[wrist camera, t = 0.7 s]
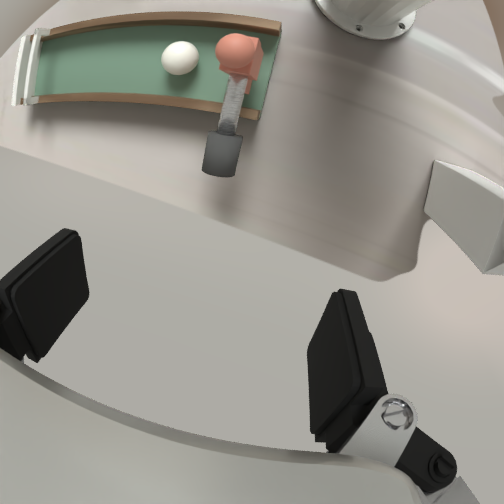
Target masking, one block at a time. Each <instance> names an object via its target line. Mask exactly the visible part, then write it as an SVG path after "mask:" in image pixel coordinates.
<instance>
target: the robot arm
mask: <svg viewBox="0 0 504 504" xmlns="http://www.w3.org/2000/svg"><path fill="white" fill-rule="evenodd" d="M431 1H433V0H315V2H316V4H317V6H318V7H319V9H320V10H321V11H322V13H323V14H324V15H325V16H326V17H327V18H328V19H329V20H330V21H332V22H333V23H334V24H336V25H337V26H339V27H340V28H342V29H344V30H346V31H347V32H349V33H352V34H354V35H357V36H360V37H364V38H367V39H375V40H385V39H391V38H395V37H397V36H399V35H402V34H403V33H405V32H406V31H408V30H409V28H410V27H411V26H412V25H413V23H414V21H415V18H416V10H417V9H419V8H421V7H422V6H424V5H426V4H428V3H430V2H431ZM399 26H400V27H401V28H400V27H399ZM356 28H358V29H359V31H357V30H356ZM88 298H89V288H88V282H87V277H86V271H85V264H84V258H83V250H82V242H81V238H80V236H79V235H78V232H76V231H74V230H70V229H66V228H64V229H62V230H60V231H59V232H58V233H56V234H55V235H54V236H52V237H51V238H50V239H48V240H47V241H46V242H45V243H43V244H42V245H41V246H39V247H38V248H37V249H36V250H34V251H33V252H32V253H31V254H30V255H28V256H27V257H26V258H25V259H24V260H22V261H21V262H20V263H19V264H18V265H17V266H15V267H14V268H13V269H12V270H11V271H10V272H9V273H7V274H6V275H5V276H4V277H3V278H2V279H1V280H0V504H480V503H479V502H478V500H477V499H476V498H475V496H474V495H473V493H472V492H471V490H470V489H469V488H468V486H467V485H466V483H465V482H464V481H463V479H462V478H461V476H459V477H458V478H456V473H457V465H456V460H455V459H454V457H453V455H452V454H451V453H450V452H449V451H447V450H446V449H445V448H443V447H442V446H441V445H440V444H438V443H437V442H435V441H434V440H433V439H432V438H430V437H429V436H428V435H426V434H425V433H424V432H422V431H421V430H420V429H419V428H417V427H416V425H417V421H418V417H417V412H416V409H415V407H414V406H413V404H412V403H411V402H410V401H409V400H408V399H407V398H405V397H403V396H401V395H398V394H388V391H387V387H386V383H385V379H384V375H383V372H382V368H381V364H380V361H379V357H378V354H377V350H376V347H375V343H374V340H373V337H372V335H371V333H370V332H369V330H368V327H367V324H366V320H365V317H364V314H363V311H362V308H361V305H360V302H359V299H358V296H357V293H356V292H355V291H350V290H345V289H339V290H338V292H333V293H332V295H331V297H330V299H329V302H328V304H327V306H326V309H325V311H324V313H323V316H322V317H321V320H320V322H319V324H318V326H317V329H316V331H315V333H314V335H313V337H312V339H311V341H310V343H309V346H308V350H307V361H308V381H309V403H310V404H309V406H310V432H311V433H312V434H315V442H326V449H327V450H328V451H327V452H326V453H321V452H310V451H298V450H286V449H277V448H269V447H261V446H255V445H248V444H242V443H235V442H230V441H225V440H219V439H214V438H210V437H205V436H201V435H197V434H192V433H189V432H184V431H181V430H177V429H174V428H170V427H166V426H163V425H160V424H157V423H154V422H151V421H147V420H144V419H141V418H138V417H135V416H133V415H130V414H127V413H124V412H122V411H119V410H117V409H114V408H112V407H109V406H107V405H104V404H102V403H99V402H97V401H95V400H93V399H90V398H88V397H86V396H84V395H82V394H79V393H77V392H75V391H73V390H71V389H69V388H67V387H65V386H63V385H61V384H59V383H57V382H55V381H54V380H52V379H50V378H48V377H46V376H44V375H42V374H41V373H39V372H37V371H36V370H34V369H32V368H30V367H29V366H27V365H26V364H24V355H25V354H26V355H27V357H28V358H29V359H31V360H33V361H34V362H36V363H38V362H39V360H40V359H41V357H44V356H45V355H46V354H47V353H48V351H49V350H50V348H51V347H52V346H53V344H54V343H55V342H56V340H57V339H58V338H59V336H60V335H61V333H62V332H63V331H64V329H65V328H66V327H67V325H68V324H69V323H70V322H71V320H72V319H73V318H74V316H75V315H76V314H77V313H78V311H79V310H80V309H81V307H82V306H83V305H84V304H85V302H86V301H87V300H88Z"/></svg>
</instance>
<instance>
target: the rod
mask: <svg viewBox="0 0 504 504" xmlns="http://www.w3.org/2000/svg"><path fill="white" fill-rule="evenodd" d="M215 54H216V58H217V60H218V61H219V62H220V66H219V70H221V71H223V72H225V73H227V74H229V78H228V82H227V87H226V91H225V95H224V100H223V105H222V109H221V114H220V119H219V124H218V128H217V131H209V132H208V138H207V143H206V148H205V154H204V160H203V165H202V171H203V172H205V173H207V174H209V175H213V176H218V177H232V176H234V175H235V171H236V166H237V162H238V157H239V152H240V148H241V143H242V139H243V137H242V136H239V135H236V134H235V133H236V128H237V124H238V119H239V115H240V110H241V106H242V102H243V97H244V94H249V92H250V88H251V84H252V80H255V81H257V78H258V74H259V70H260V66H261V62H262V58H263V54H264V53H263V50H262V48H261V42H260V40H259V38H255V37H249V36H245V35H242V34H238V33H233V34H229V35H226V36H224V37H223V38H221V39H220V40H219V42H218V43H217V45H216V48H215Z"/></svg>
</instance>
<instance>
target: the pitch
mask: <svg viewBox="0 0 504 504" xmlns="http://www.w3.org/2000/svg"><path fill="white" fill-rule="evenodd" d="M281 32H282V29H281V22H279V21H273V20H268V19H262V18H256V17H249V16H241V15H233V14H223V13H209V12H148V13H135V14H125V15H117V16H110V17H103V18H97V19H92V20H86V21H81V22H77V23H72V24H68V25H64V26H60V27H56V28H53V29H51V30H50V34H49V36H46V37H45V36H41V39H40V42H43V44H42V48H41V53H40V59H39V64H38V70H37V77H36V85H35V93H34V96H31V97H35V96H39V101H38V103H45V102H65V101H110V102H131V103H145V104H156V105H166V106H175V107H183V108H191V109H197V110H204V111H210V112H216V113H221V109H222V105H223V100H224V95H225V91H226V87H227V82H228V78H229V74H227V73H225V72H223V71H221V70H219V66H220V62H219V61H218V60H217V58H216V54H215V48H216V45H217V43H218V42H219V40H220V39H221V38H223V37H224V36H226V35H229V34H233V33H238V34H242V35H245V36H249V37H255V38H259V40H260V42H261V48H262V50H263V53H264V54H263V58H262V62H261V66H260V70H259V74H258V78H257V81H255V80H252V84H251V88H250V92H249V94H244V97H243V102H242V106H241V110H240V115H239V117H243V118H248V119H252V120H258V119H260V115H261V111H262V107H263V103H264V99H265V95H266V91H267V87H268V83H269V79H270V75H271V71H272V67H273V63H274V59H275V55H276V51H277V47H278V43H279V40H280V36H281ZM33 37H34V34H33V35H31V37H30V41H33ZM179 41H185V42H189V43H191V44H193V45H194V46H195V47H196V48H197V50H198V53H199V60H198V63H197V65H196V67H195V68H194V69H193V70H192V71H190V72H189V73H187V74H183V75H173V74H171V73H169V72H167V71H166V70H165V69H164V68H163V66H162V63H161V57H162V54H163V52H164V50H165V49H166V48H167V47H168V46H169V45H170V44H172V43H175V42H179ZM23 101H24V98H21V101H20V105H22V104H23Z"/></svg>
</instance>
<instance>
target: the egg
mask: <svg viewBox="0 0 504 504" xmlns="http://www.w3.org/2000/svg"><path fill="white" fill-rule="evenodd" d="M198 60H199V53H198V50H197V48H196V47H195V46H194V45H193V44H191V43H189V42H185V41H179V42H175V43H172V44H170V45H169V46H168V47H167V48H166V49H165V50H164V52H163V54H162V57H161V63H162V66H163V68H164V69H165V70H166V71H167V72H169V73H171V74H173V75H183V74H187V73H189V72H190V71H192V70H193V69H194V68H195V67H196V65H197V63H198Z"/></svg>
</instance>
